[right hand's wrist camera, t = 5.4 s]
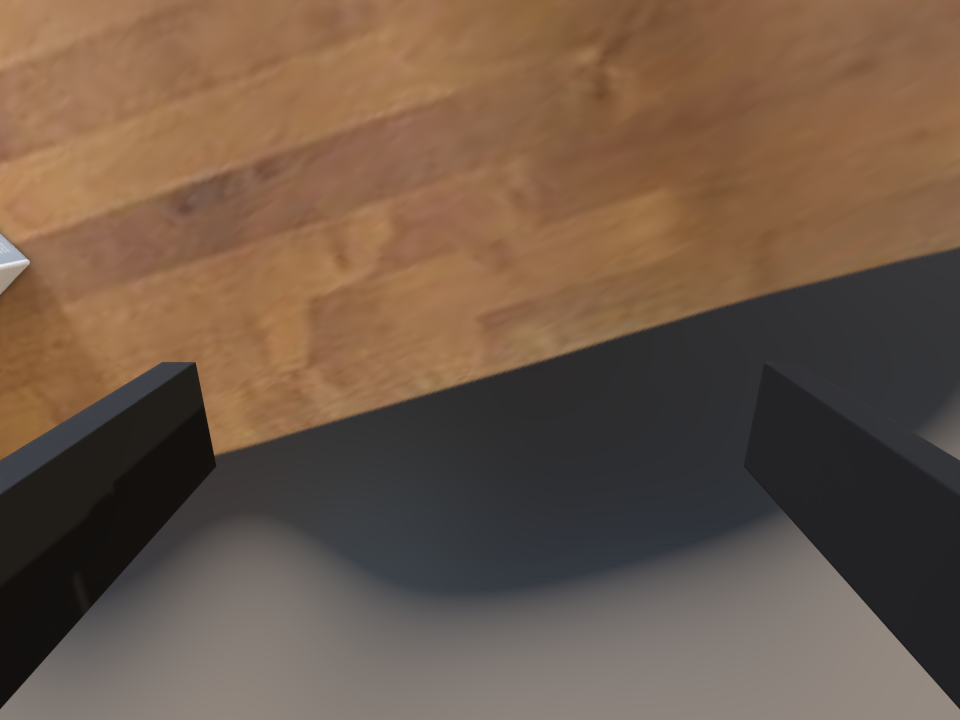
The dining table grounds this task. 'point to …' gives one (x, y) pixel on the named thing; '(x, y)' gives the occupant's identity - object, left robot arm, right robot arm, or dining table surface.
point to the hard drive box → (10, 263)
